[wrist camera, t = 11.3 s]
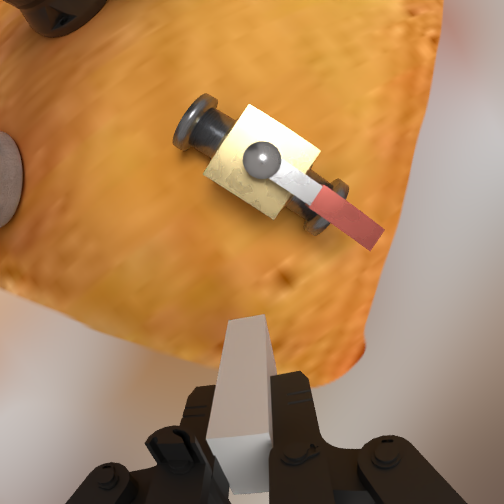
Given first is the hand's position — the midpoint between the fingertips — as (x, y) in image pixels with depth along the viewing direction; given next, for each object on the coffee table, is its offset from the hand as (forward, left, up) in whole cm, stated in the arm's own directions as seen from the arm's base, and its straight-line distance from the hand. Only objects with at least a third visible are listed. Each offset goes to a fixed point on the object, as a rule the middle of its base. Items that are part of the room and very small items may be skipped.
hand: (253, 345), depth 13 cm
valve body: (-4, +7, -26) cm, 28 cm away
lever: (+1, +7, -18) cm, 19 cm away
